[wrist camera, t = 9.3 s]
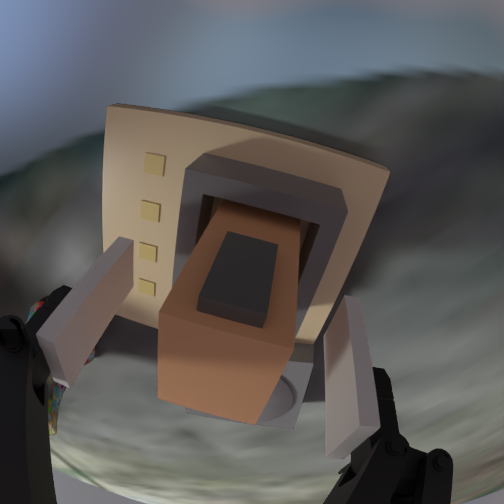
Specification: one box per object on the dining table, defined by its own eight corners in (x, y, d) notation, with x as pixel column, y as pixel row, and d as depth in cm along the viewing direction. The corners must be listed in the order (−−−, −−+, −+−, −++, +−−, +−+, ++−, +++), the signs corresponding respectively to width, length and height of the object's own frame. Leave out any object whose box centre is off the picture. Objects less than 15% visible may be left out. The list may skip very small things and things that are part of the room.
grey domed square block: (194, 388, 30) (185, 417, 27) (184, 316, 24) (169, 349, 21) (295, 403, 29) (293, 434, 26) (314, 333, 23) (313, 370, 20)
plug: (214, 263, 20) (158, 398, 12) (231, 179, 17) (159, 296, 9) (277, 280, 20) (255, 425, 12) (303, 198, 17) (300, 335, 9)
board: (114, 302, 25) (91, 336, 22) (117, 103, 17) (76, 114, 13) (301, 355, 25) (299, 398, 21) (385, 165, 16) (406, 191, 13)
